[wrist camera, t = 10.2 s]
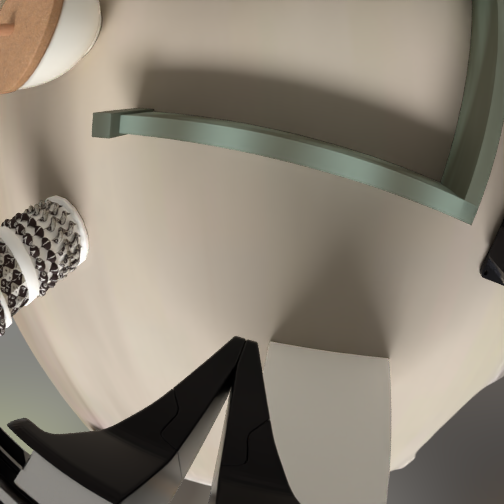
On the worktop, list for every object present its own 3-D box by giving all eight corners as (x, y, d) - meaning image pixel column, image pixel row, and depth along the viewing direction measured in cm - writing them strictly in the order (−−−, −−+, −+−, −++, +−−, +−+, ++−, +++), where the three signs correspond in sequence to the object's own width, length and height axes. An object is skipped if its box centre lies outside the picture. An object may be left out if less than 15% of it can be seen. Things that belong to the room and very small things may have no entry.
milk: (260, 402, 32) (196, 590, 9) (269, 341, 26) (176, 612, 4) (353, 415, 30) (325, 604, 7) (388, 358, 24) (375, 623, 2)
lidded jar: (56, 0, 14) (-13, -5, 6) (134, -28, 12) (57, -58, 4) (40, 90, 19) (-34, 105, 11) (111, 81, 18) (17, 86, 10)
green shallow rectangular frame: (484, -4, 7) (515, -21, 3) (447, 206, 17) (476, 235, 12) (178, -65, 10) (148, -89, 6) (134, 127, 19) (91, 136, 15)
